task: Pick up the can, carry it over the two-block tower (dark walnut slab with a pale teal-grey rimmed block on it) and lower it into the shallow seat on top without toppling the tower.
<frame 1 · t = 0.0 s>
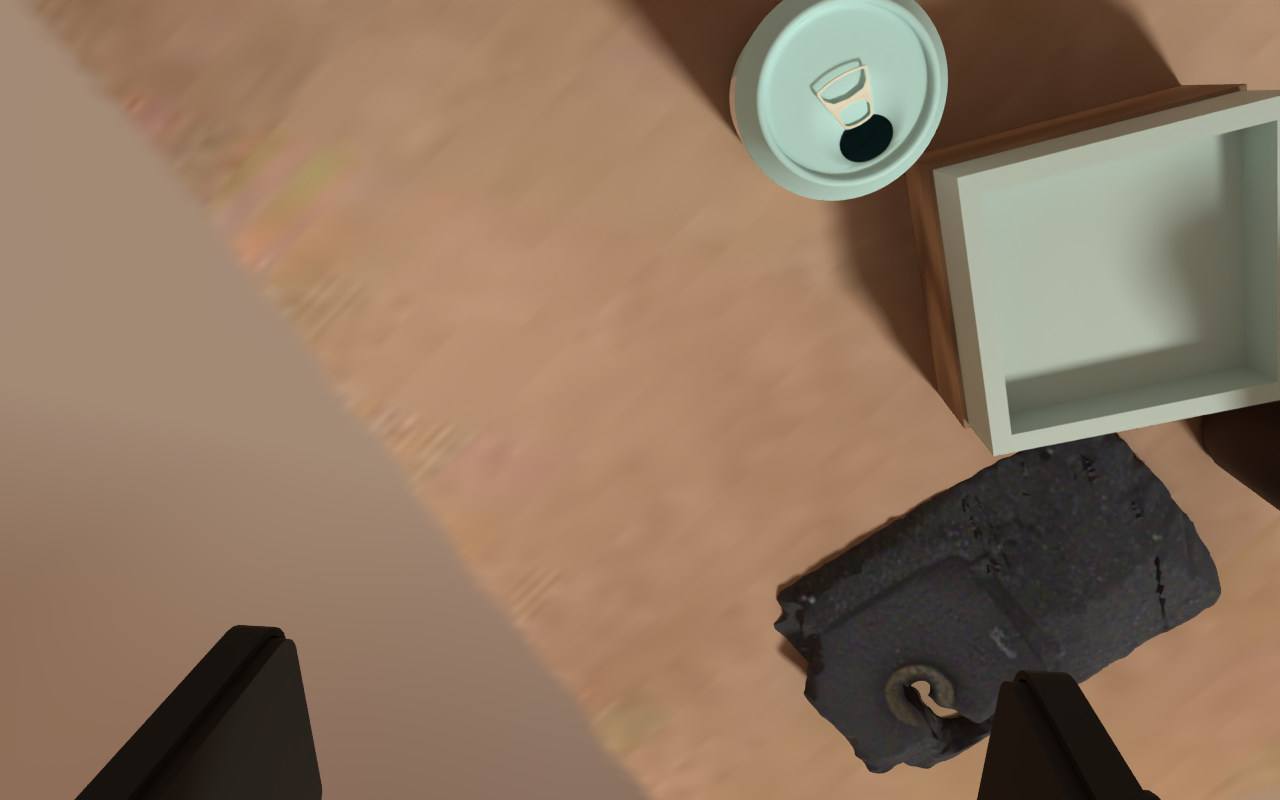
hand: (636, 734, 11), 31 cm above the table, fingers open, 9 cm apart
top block: (1092, 271, 34), point 5 cm above the table, touching bottom block
bottom block: (1047, 250, 38), on the table, touching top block
bottle: (1268, 414, 40), on the table
dark slate chunk: (981, 597, 46), on the table
can: (806, 93, 37), on the table
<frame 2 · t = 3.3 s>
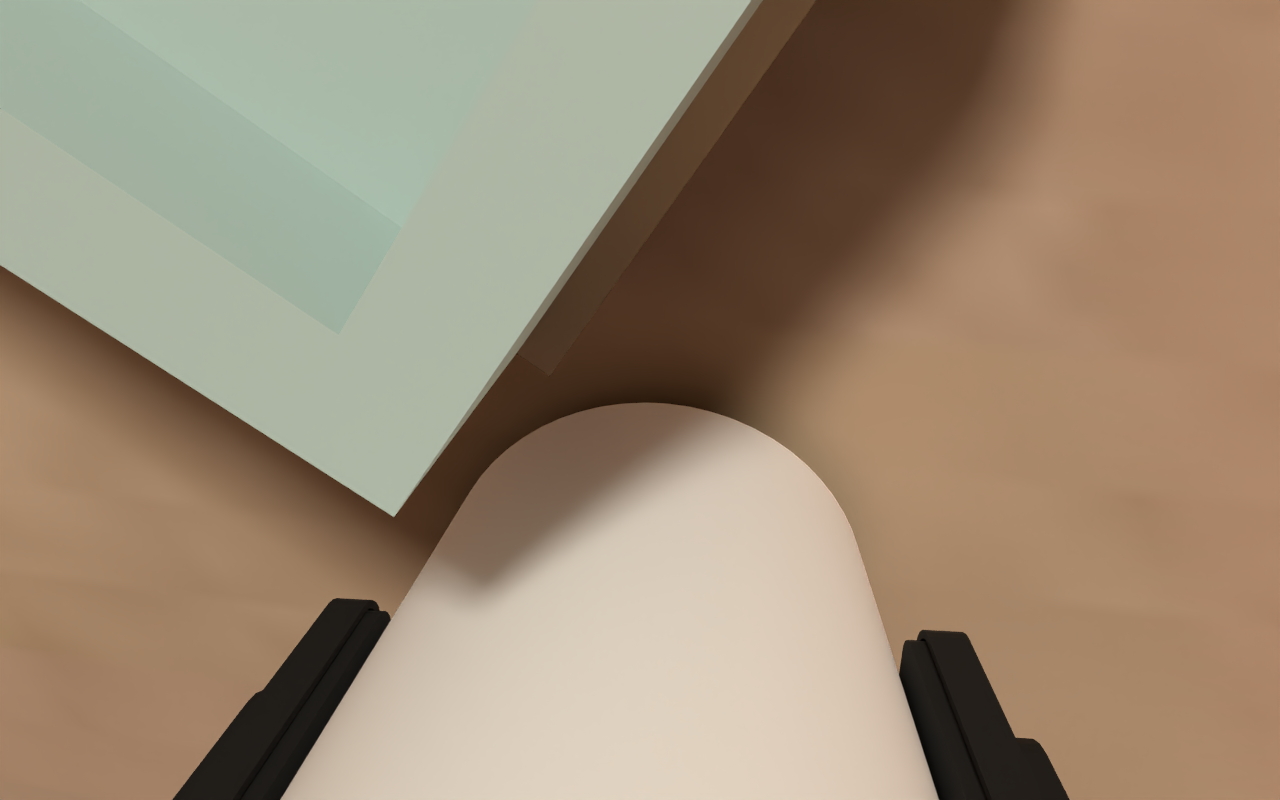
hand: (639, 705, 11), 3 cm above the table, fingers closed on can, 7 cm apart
can: (654, 567, 14), on the table, touching gripper
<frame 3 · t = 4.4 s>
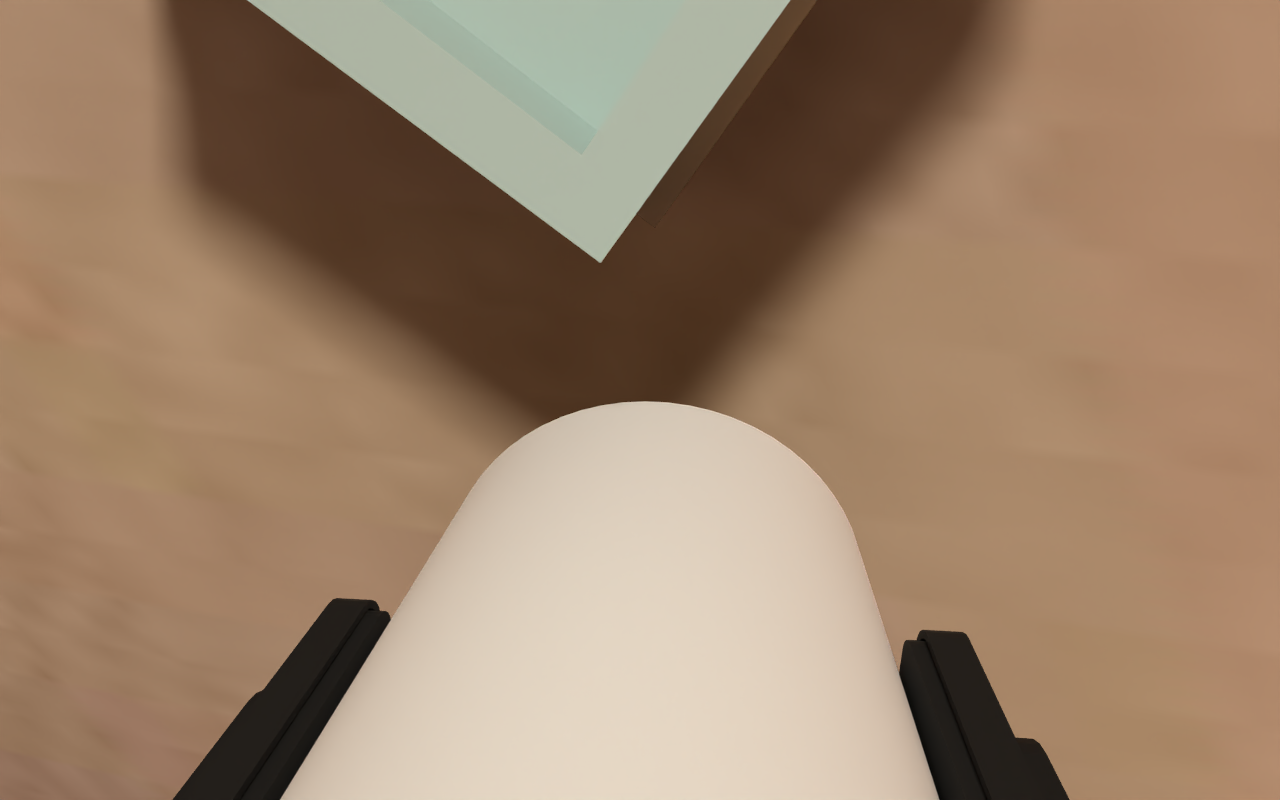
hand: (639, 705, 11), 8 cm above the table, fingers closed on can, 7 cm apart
can: (655, 565, 14), point 4 cm above the table, touching gripper
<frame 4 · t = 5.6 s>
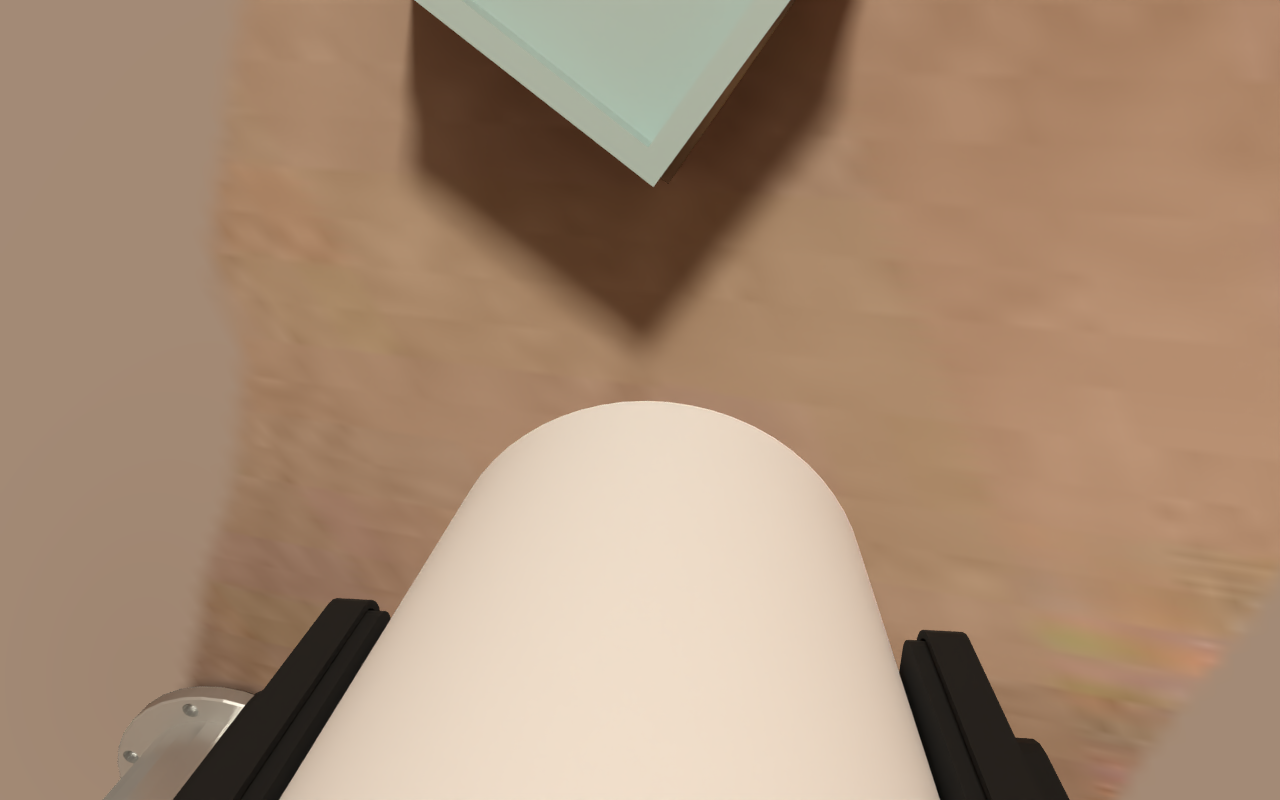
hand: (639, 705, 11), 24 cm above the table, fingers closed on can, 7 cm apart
can: (655, 565, 14), point 20 cm above the table, touching gripper
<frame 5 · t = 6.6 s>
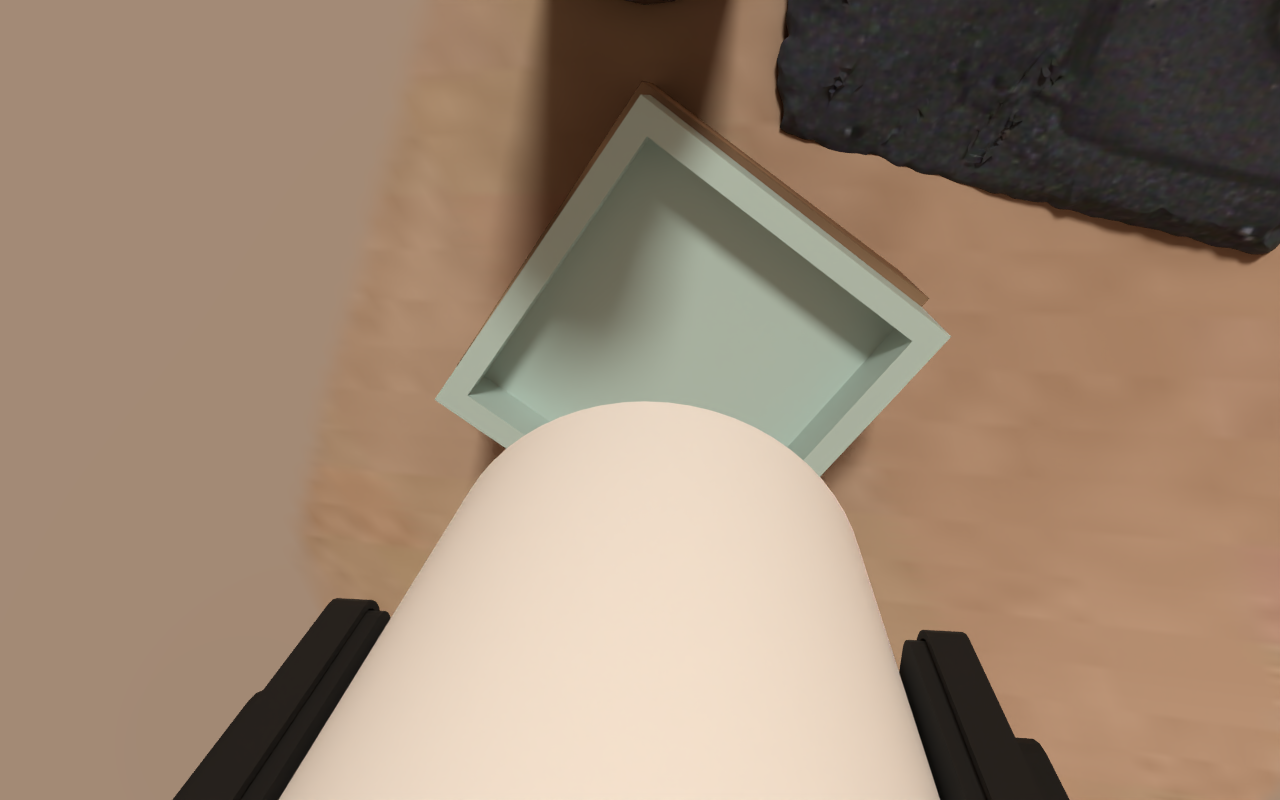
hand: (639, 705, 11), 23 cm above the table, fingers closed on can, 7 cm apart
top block: (685, 338, 28), point 5 cm above the table, touching bottom block
bottom block: (687, 300, 33), on the table, touching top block
can: (654, 566, 14), point 20 cm above the table, touching gripper
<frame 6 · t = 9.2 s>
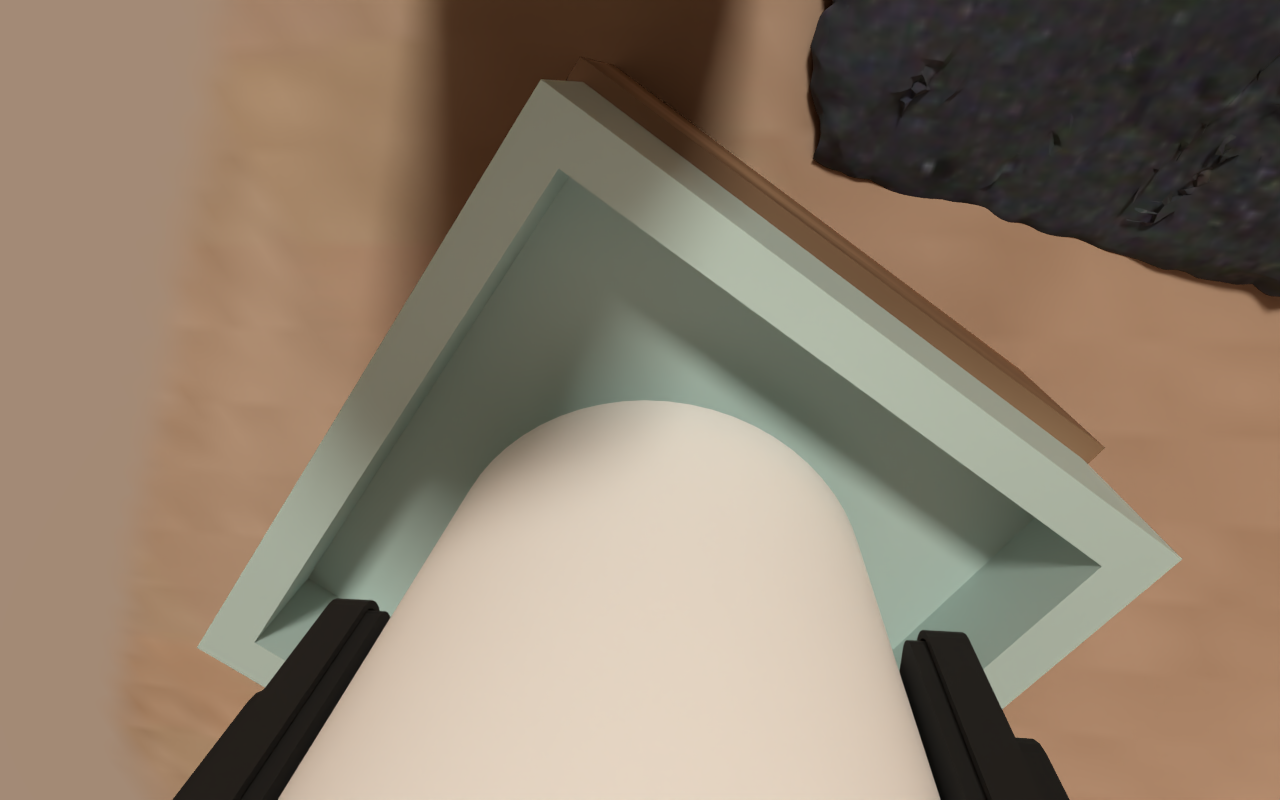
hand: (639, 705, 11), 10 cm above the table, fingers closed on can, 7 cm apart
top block: (659, 504, 16), point 5 cm above the table, touching bottom block
bottom block: (675, 409, 21), on the table, touching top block
can: (654, 565, 14), point 7 cm above the table, touching gripper
when the fingers open (10 cm above the table, at t = 9.8 s): can moves 1 cm, resting on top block.
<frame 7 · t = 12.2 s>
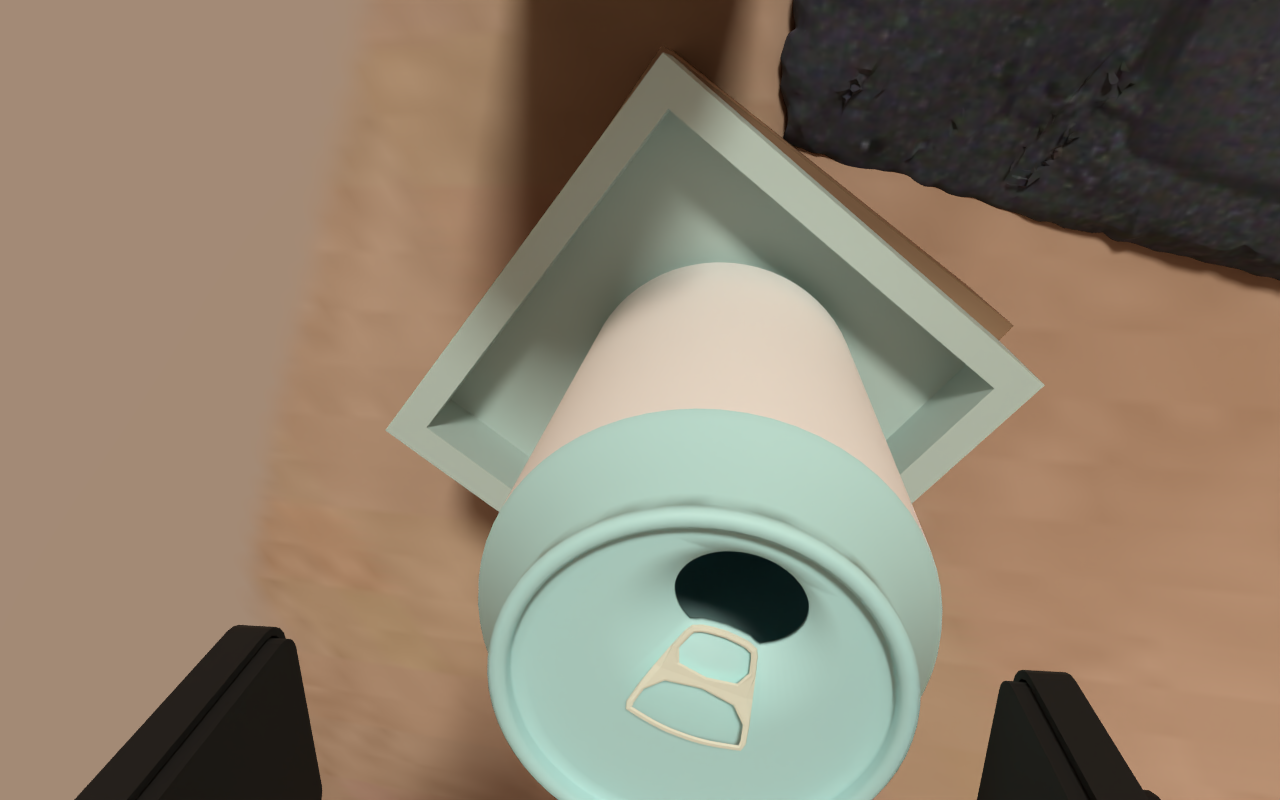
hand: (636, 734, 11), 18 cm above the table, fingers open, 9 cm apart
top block: (700, 362, 23), point 5 cm above the table, touching can
bottom block: (708, 314, 28), on the table
can: (718, 383, 22), point 6 cm above the table, touching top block
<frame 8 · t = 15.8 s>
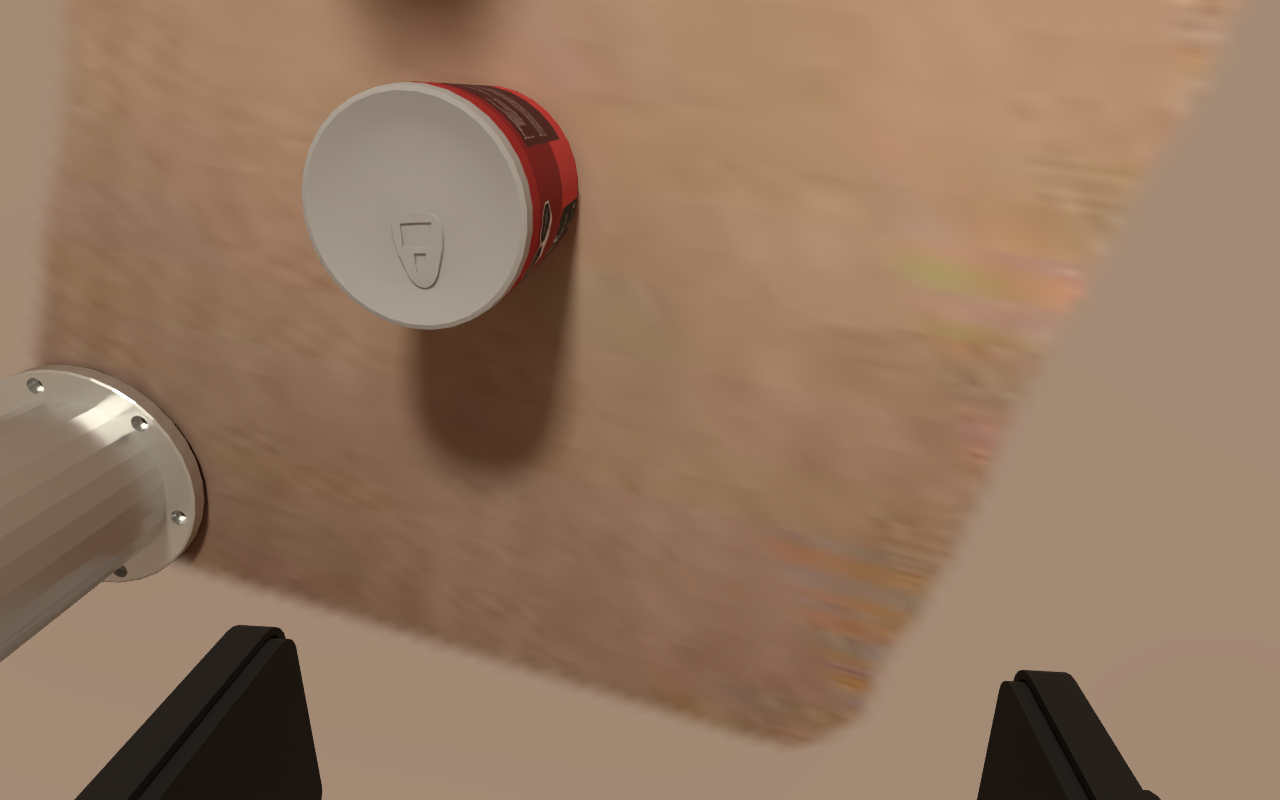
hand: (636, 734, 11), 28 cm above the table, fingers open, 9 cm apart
canned food: (499, 179, 36), on the table
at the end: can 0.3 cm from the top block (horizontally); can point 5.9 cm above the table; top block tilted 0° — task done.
